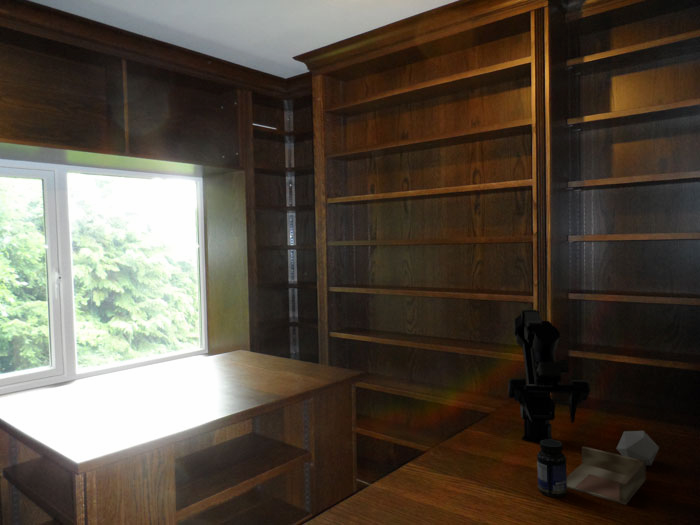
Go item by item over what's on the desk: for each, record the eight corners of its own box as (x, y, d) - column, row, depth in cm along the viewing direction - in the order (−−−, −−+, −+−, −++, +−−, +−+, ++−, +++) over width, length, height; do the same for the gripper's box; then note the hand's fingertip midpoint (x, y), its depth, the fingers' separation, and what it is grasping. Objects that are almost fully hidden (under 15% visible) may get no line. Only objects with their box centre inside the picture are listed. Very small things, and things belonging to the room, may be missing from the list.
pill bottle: (567, 488, 116) (566, 440, 116) (566, 500, 111) (565, 449, 111) (538, 483, 119) (538, 436, 119) (536, 495, 113) (535, 445, 113)
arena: (559, 485, 118) (558, 466, 118) (583, 463, 129) (583, 446, 129) (625, 504, 108) (625, 484, 108) (645, 479, 120) (645, 460, 120)
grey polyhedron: (656, 476, 123) (669, 439, 126) (622, 456, 124) (636, 421, 127) (638, 474, 131) (650, 440, 134) (606, 456, 132) (619, 422, 135)
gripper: (508, 346, 128) (513, 404, 118) (588, 348, 125) (600, 407, 114) (505, 369, 136) (510, 425, 126) (580, 371, 133) (591, 429, 123)
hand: (552, 421), depth 122 cm, fingers open, 9 cm apart
